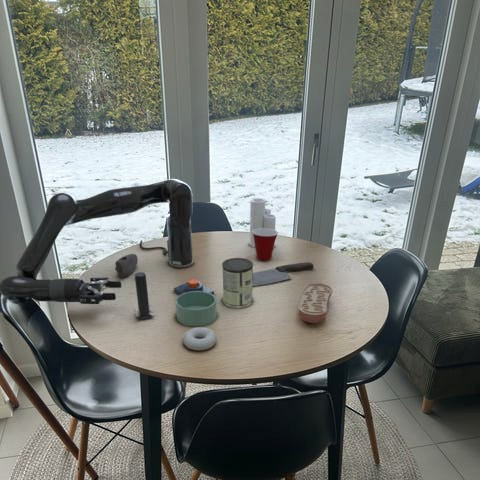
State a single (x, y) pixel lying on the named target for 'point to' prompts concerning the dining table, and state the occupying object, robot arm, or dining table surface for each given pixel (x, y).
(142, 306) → the food processor blade
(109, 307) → the dining table surface
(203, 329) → the donut
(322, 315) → the anatomical model
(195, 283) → the button
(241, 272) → the coffee can
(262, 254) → the plastic cup
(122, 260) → the perforated stone tool
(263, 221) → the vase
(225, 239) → the dining table surface
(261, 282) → the cleaver
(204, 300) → the processor bowl
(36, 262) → the robot arm
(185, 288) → the control block
